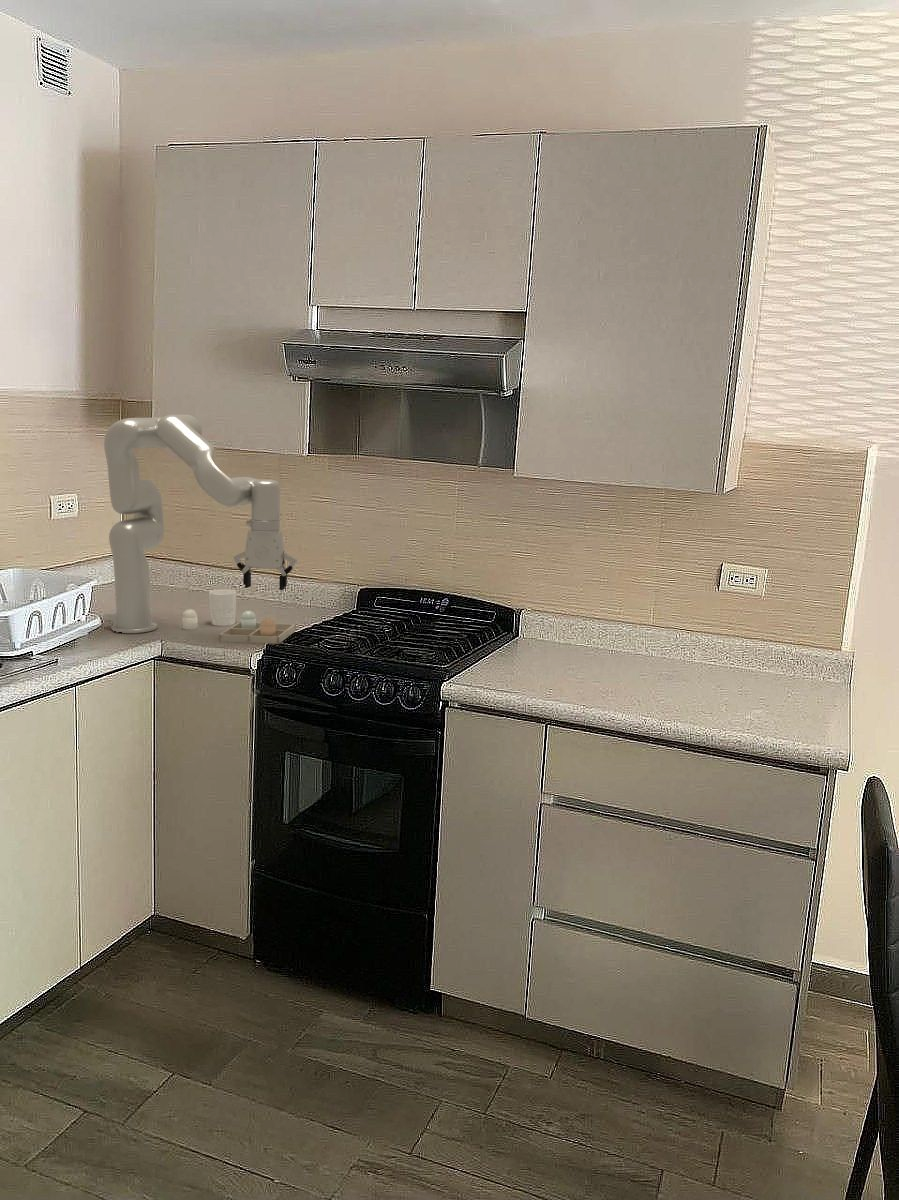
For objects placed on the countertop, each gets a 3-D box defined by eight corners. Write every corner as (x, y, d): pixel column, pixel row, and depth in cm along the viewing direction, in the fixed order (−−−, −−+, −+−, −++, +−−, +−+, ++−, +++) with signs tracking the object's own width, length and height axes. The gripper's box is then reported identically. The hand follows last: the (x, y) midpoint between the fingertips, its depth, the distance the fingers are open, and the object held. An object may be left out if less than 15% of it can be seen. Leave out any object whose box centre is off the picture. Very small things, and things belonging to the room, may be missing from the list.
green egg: (239, 633, 297) (238, 612, 295) (244, 630, 301) (243, 609, 299) (253, 633, 296) (253, 612, 295) (258, 630, 300) (257, 609, 299)
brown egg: (258, 640, 288) (257, 619, 286) (262, 637, 292) (262, 615, 291) (273, 641, 287) (272, 619, 286) (277, 638, 291) (277, 616, 290)
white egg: (180, 631, 301) (179, 610, 300) (186, 628, 305) (185, 607, 304) (194, 632, 300) (194, 611, 299) (200, 628, 304) (199, 608, 303)
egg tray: (219, 643, 287) (218, 634, 286) (239, 630, 303) (238, 621, 303) (279, 645, 285) (278, 637, 284) (295, 632, 301) (295, 624, 301)
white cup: (222, 629, 304) (221, 595, 302) (204, 625, 309) (202, 592, 307) (242, 625, 310) (241, 591, 308) (224, 621, 315) (223, 588, 313)
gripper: (229, 525, 281) (229, 588, 284) (293, 529, 279) (292, 592, 282) (238, 522, 288) (238, 583, 292) (300, 526, 286) (299, 587, 290)
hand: (265, 588), depth 287 cm, fingers open, 9 cm apart
